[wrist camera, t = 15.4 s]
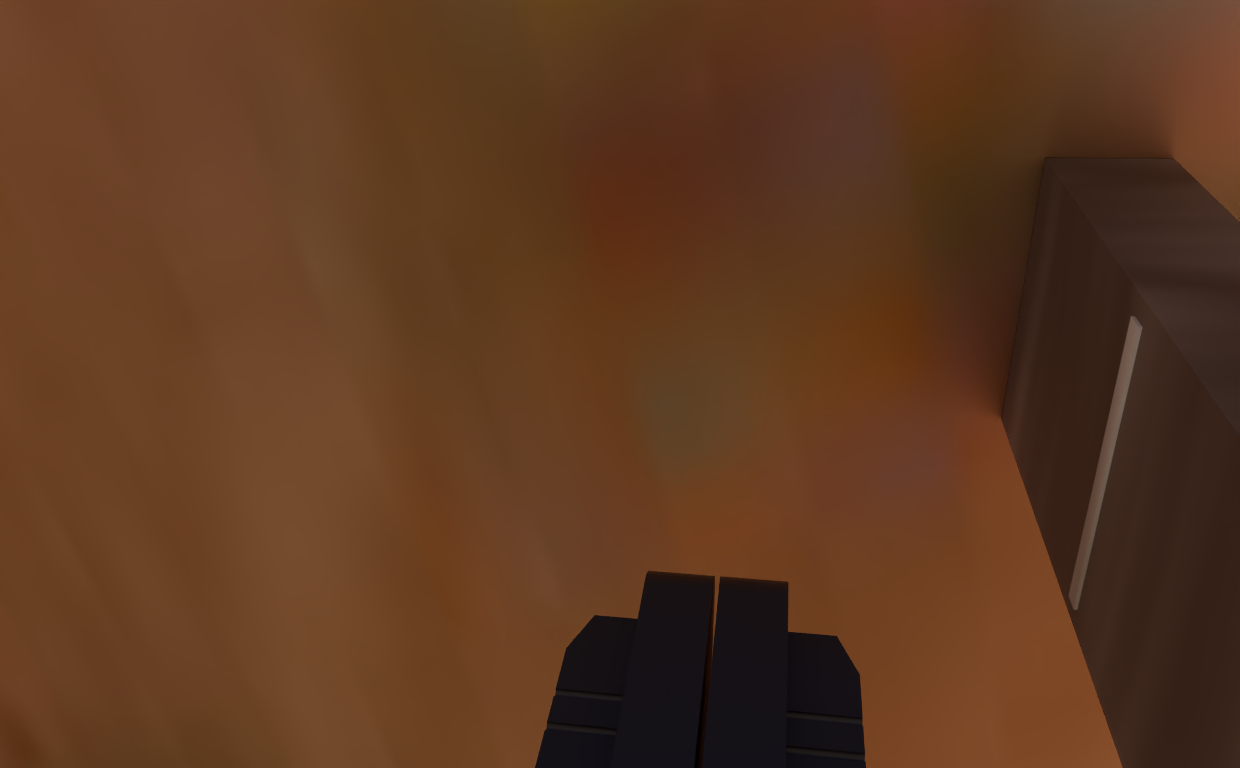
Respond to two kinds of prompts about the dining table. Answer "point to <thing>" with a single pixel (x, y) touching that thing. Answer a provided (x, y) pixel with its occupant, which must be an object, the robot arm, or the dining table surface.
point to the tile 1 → (1138, 444)
